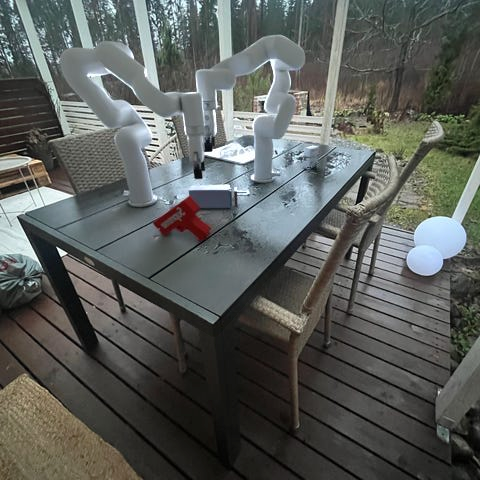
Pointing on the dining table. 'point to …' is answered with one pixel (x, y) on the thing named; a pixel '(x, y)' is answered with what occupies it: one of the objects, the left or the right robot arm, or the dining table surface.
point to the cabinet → (211, 196)
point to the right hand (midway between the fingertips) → (210, 149)
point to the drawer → (237, 195)
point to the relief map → (233, 153)
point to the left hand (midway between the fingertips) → (200, 174)
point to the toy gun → (183, 220)
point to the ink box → (310, 156)
